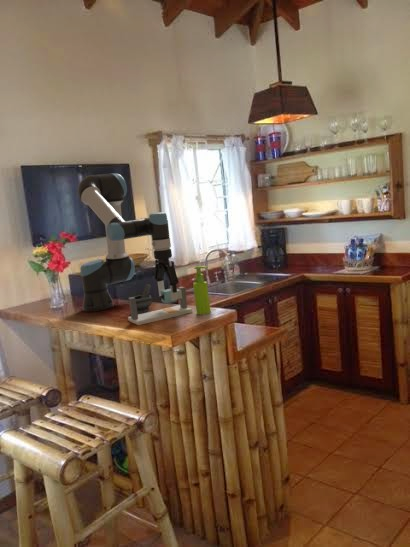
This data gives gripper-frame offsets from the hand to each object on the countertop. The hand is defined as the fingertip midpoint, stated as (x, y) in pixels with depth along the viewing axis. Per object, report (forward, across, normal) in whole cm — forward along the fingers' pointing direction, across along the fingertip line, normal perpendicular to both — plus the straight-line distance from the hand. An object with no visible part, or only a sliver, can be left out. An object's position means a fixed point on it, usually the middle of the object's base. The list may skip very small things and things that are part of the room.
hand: (168, 297), depth 217 cm
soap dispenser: (+7, +12, +10) cm, 18 cm away
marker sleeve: (+2, 0, 0) cm, 2 cm away
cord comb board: (+7, 0, -5) cm, 9 cm away
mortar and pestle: (+8, -16, -6) cm, 19 cm away
